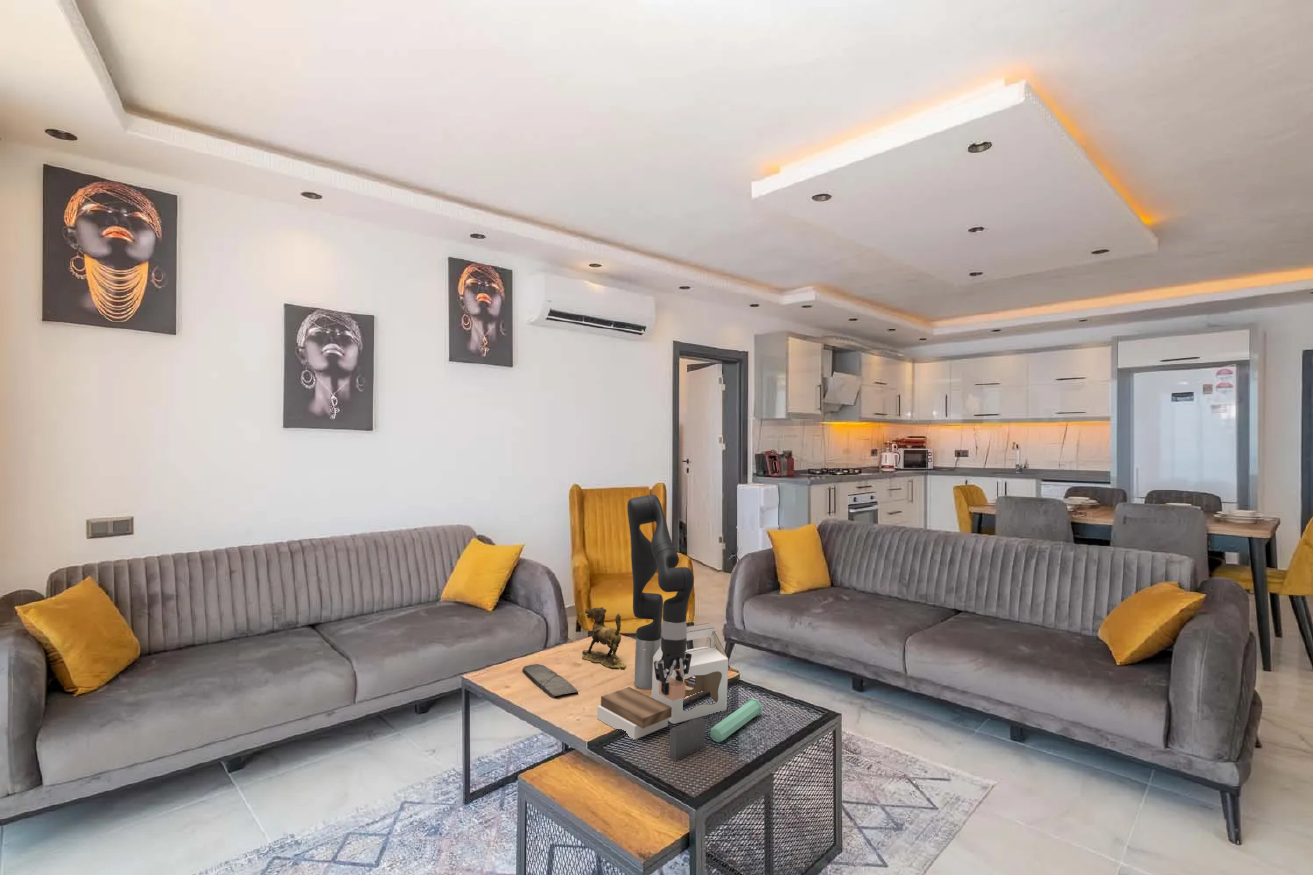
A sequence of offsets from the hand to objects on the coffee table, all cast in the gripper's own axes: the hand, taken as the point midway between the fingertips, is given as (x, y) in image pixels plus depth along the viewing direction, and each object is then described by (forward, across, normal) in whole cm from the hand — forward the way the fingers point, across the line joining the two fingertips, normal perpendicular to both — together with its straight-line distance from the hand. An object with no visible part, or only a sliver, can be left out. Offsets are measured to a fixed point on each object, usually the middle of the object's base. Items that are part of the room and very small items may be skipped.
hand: (671, 691), depth 186 cm
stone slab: (+16, +3, -60) cm, 63 cm away
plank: (+11, 0, -16) cm, 20 cm away
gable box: (+16, -21, -12) cm, 29 cm away
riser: (+15, 0, -17) cm, 23 cm away
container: (+16, -23, +6) cm, 29 cm away
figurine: (+16, -27, -65) cm, 72 cm away
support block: (+1, 0, 0) cm, 1 cm away
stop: (+15, 0, +7) cm, 17 cm away
